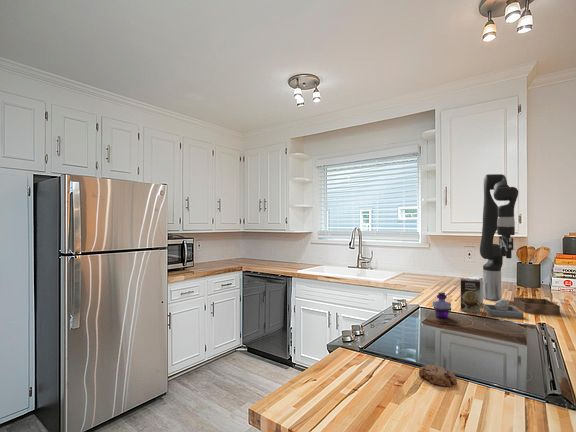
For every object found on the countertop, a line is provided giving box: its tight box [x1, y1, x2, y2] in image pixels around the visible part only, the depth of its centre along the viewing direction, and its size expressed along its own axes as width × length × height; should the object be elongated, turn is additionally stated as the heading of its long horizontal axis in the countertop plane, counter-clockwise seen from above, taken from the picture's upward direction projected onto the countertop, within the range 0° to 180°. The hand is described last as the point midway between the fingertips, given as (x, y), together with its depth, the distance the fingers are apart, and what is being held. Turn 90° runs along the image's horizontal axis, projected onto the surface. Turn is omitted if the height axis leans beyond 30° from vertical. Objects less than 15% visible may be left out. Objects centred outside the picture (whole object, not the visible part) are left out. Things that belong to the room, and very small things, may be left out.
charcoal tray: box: [482, 303, 524, 319], centre depth 162 cm, size 14×14×3 cm
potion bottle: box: [432, 291, 452, 320], centre depth 157 cm, size 9×9×12 cm
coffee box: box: [459, 278, 481, 314], centre depth 169 cm, size 9×6×16 cm
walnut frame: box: [513, 296, 561, 316], centre depth 169 cm, size 15×15×4 cm
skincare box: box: [466, 275, 484, 305], centre depth 183 cm, size 8×6×15 cm
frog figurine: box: [494, 298, 511, 312], centre depth 162 cm, size 6×7×7 cm
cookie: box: [418, 364, 458, 388], centre depth 96 cm, size 10×11×3 cm
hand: (505, 257), depth 164 cm, fingers open, 8 cm apart
